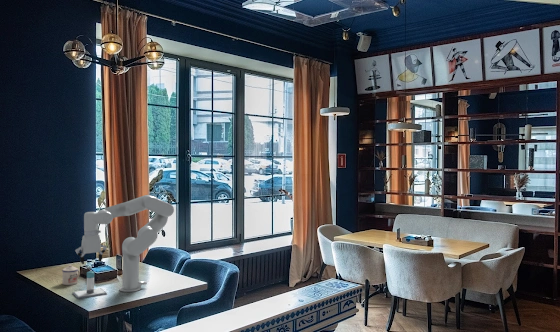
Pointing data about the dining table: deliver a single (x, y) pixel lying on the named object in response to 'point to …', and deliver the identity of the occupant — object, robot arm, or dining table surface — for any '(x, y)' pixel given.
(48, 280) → the dining table surface
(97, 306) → the dining table surface
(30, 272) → the dining table surface
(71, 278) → the teacup with lid
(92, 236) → the robot arm
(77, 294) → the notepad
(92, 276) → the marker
